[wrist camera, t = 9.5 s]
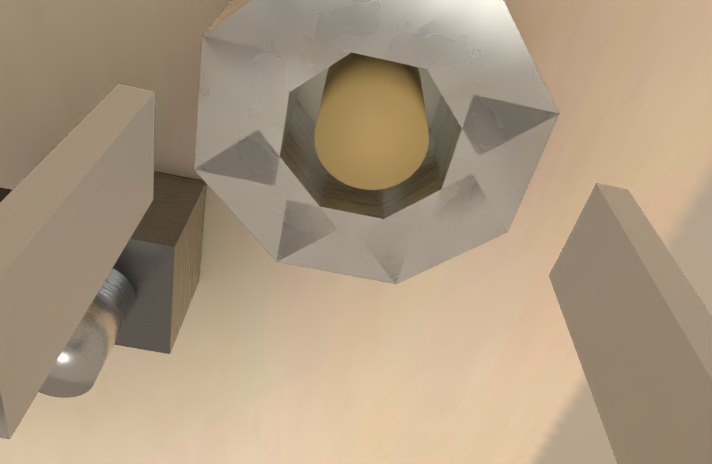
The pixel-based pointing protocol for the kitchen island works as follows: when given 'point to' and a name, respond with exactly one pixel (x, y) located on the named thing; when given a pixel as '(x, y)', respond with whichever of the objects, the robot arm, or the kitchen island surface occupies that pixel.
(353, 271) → the ring
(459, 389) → the kitchen island surface
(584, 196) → the kitchen island surface
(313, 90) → the hub
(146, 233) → the stand
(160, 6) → the kitchen island surface
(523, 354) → the kitchen island surface
